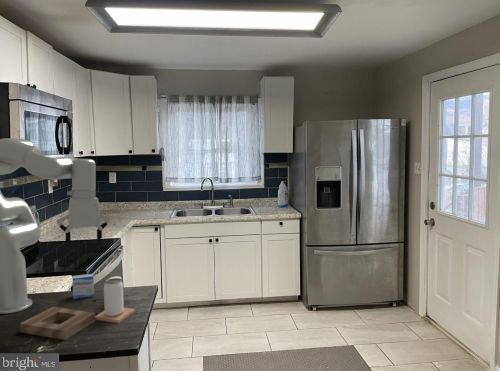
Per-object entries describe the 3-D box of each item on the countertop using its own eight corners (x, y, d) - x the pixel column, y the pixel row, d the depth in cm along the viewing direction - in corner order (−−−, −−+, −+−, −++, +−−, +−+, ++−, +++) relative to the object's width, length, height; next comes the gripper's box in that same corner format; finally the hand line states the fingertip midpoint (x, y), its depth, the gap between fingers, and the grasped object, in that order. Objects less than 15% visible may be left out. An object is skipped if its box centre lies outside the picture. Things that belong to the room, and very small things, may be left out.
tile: (94, 319, 135) (94, 316, 135) (112, 308, 145) (112, 305, 144) (118, 323, 132) (118, 320, 132) (135, 311, 142) (135, 309, 142)
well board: (20, 332, 126) (20, 323, 125) (53, 314, 139) (53, 306, 139) (65, 340, 120) (64, 330, 120) (95, 321, 134) (94, 312, 134)
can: (117, 317, 134) (116, 284, 133) (101, 315, 136) (99, 283, 135) (127, 310, 141) (126, 278, 140) (111, 308, 142) (110, 277, 141)
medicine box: (73, 299, 153) (72, 278, 152) (73, 295, 157) (72, 275, 156) (94, 296, 156) (93, 276, 155) (94, 292, 160) (93, 272, 160)
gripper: (56, 196, 126) (57, 247, 128) (111, 195, 134) (111, 242, 136) (55, 193, 132) (56, 241, 134) (108, 192, 141) (108, 237, 143)
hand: (84, 242), depth 135 cm, fingers open, 9 cm apart
